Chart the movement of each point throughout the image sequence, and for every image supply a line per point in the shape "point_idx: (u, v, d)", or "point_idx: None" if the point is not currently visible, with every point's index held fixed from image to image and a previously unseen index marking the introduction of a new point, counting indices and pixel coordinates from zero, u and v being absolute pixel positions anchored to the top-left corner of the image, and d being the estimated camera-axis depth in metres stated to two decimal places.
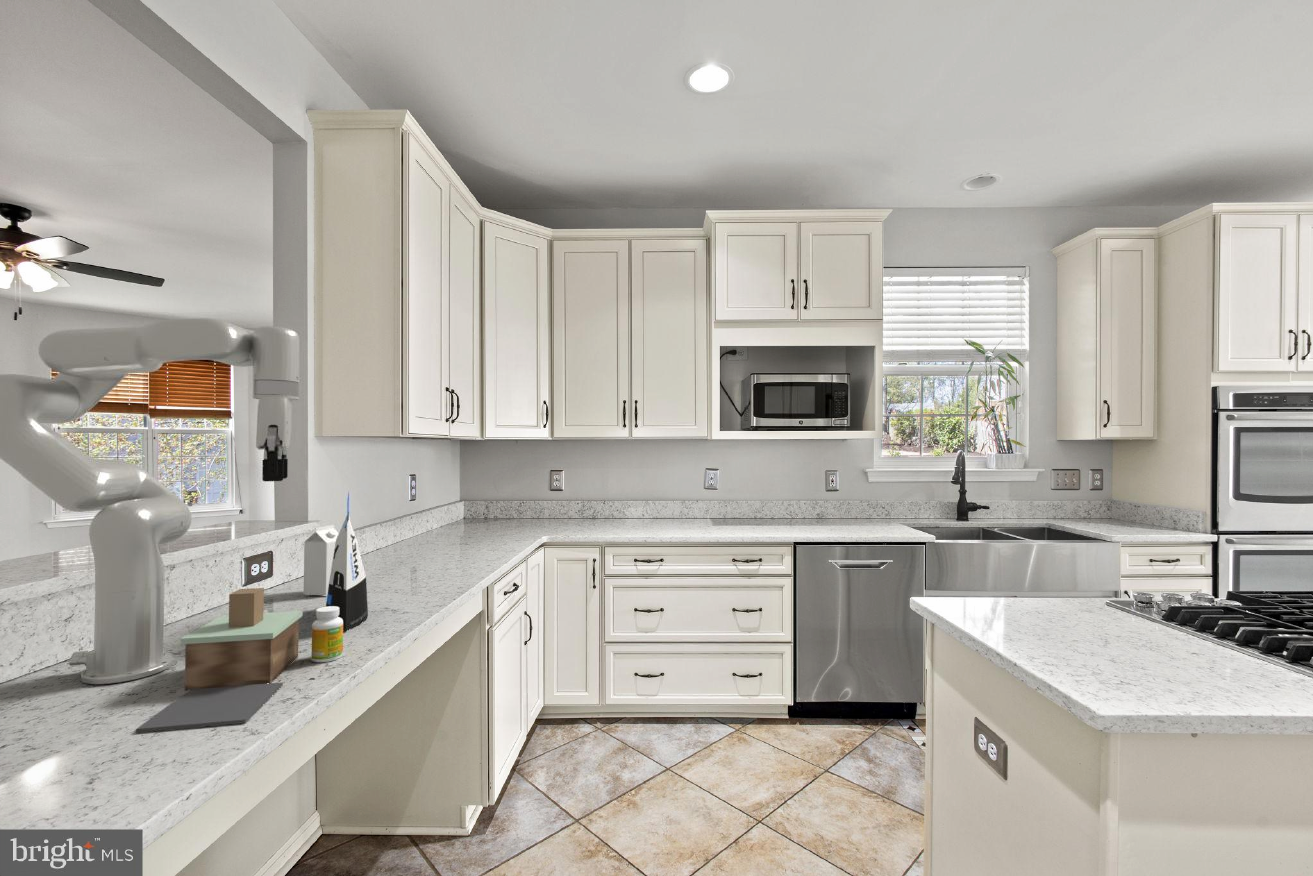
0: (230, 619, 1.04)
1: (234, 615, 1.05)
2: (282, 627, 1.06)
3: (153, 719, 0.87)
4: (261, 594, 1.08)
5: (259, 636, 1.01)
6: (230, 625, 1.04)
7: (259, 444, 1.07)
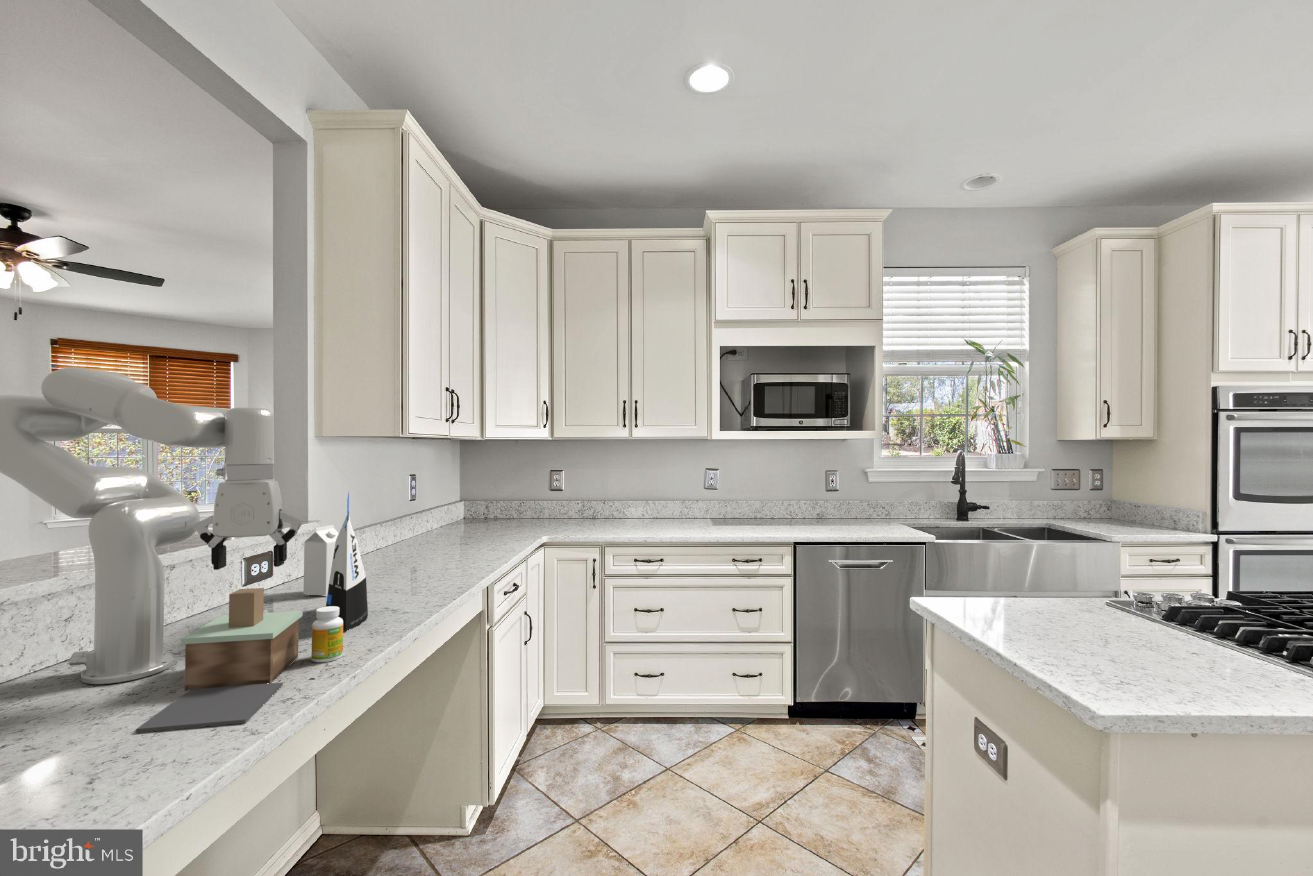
0: (230, 619, 1.04)
1: (234, 615, 1.05)
2: (282, 627, 1.06)
3: (153, 719, 0.87)
4: (261, 594, 1.08)
5: (259, 636, 1.01)
6: (230, 625, 1.04)
7: (274, 530, 1.06)
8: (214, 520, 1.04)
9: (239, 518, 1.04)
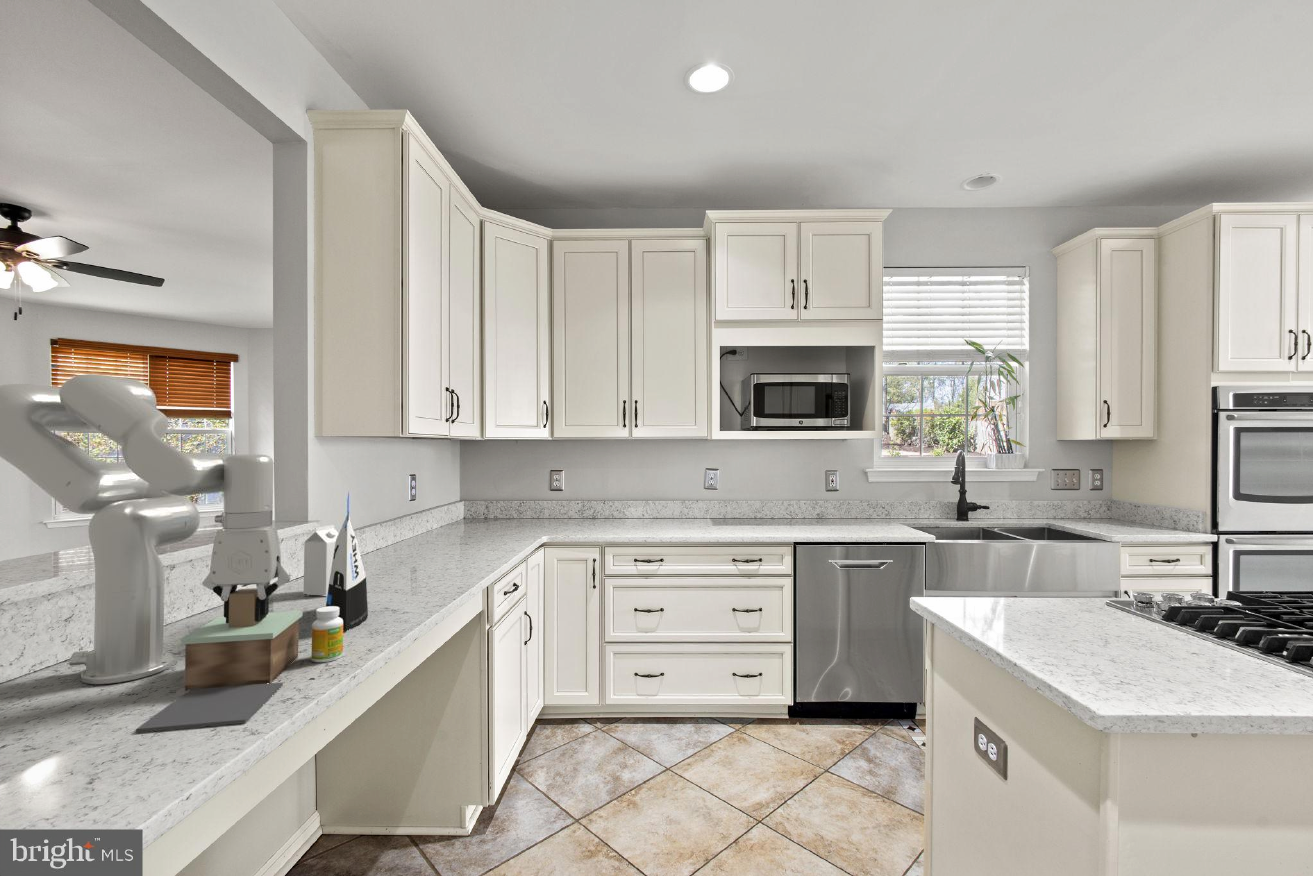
0: (230, 619, 1.04)
1: (234, 615, 1.05)
2: (282, 627, 1.06)
3: (153, 719, 0.87)
4: None
5: (259, 636, 1.01)
6: (230, 625, 1.04)
7: (272, 578, 1.06)
8: (211, 568, 1.03)
9: (237, 566, 1.04)
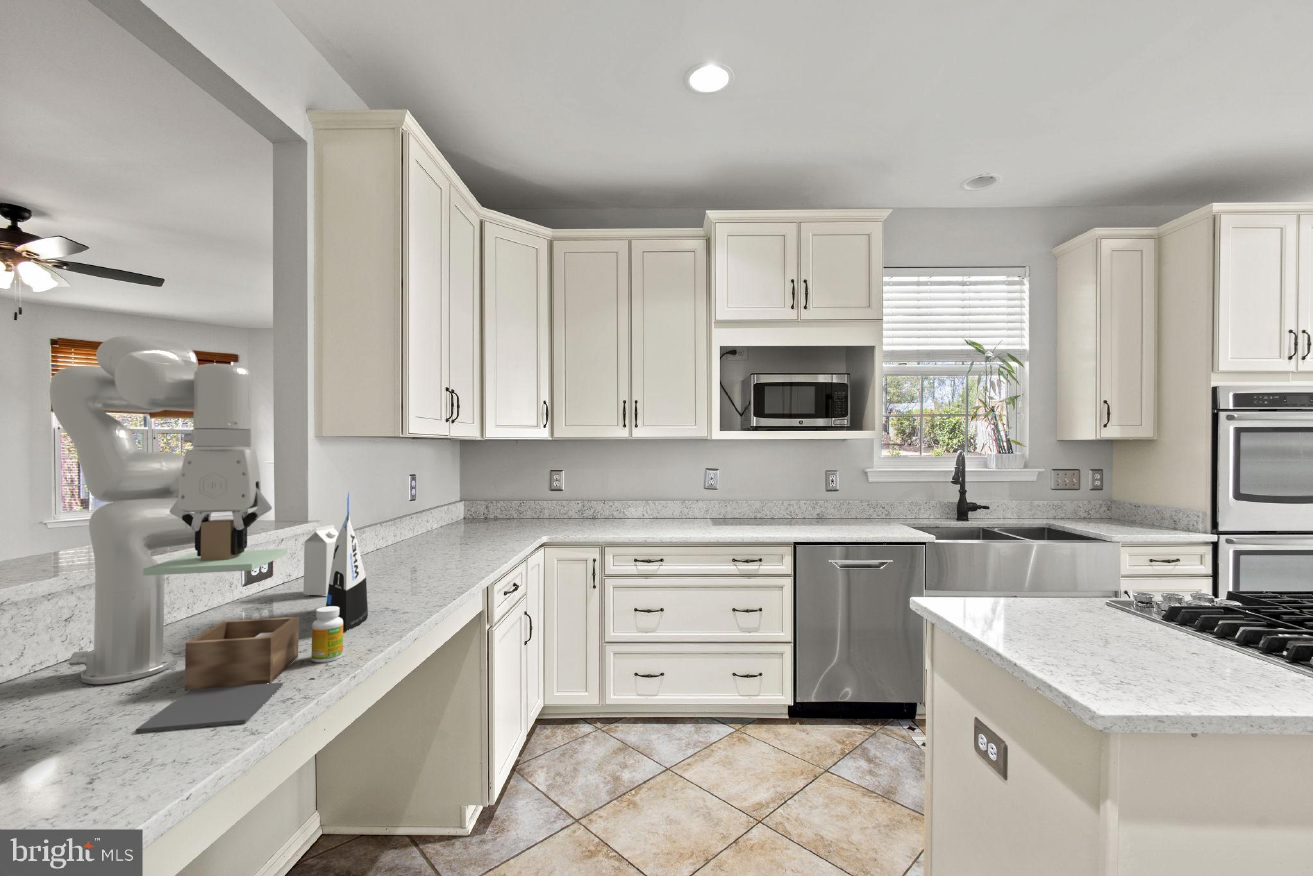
0: (202, 551, 0.91)
1: (207, 546, 0.91)
2: (263, 560, 0.92)
3: (153, 719, 0.87)
4: None
5: (235, 567, 0.88)
6: (202, 558, 0.91)
7: (250, 504, 0.93)
8: (180, 492, 0.90)
9: (209, 490, 0.91)
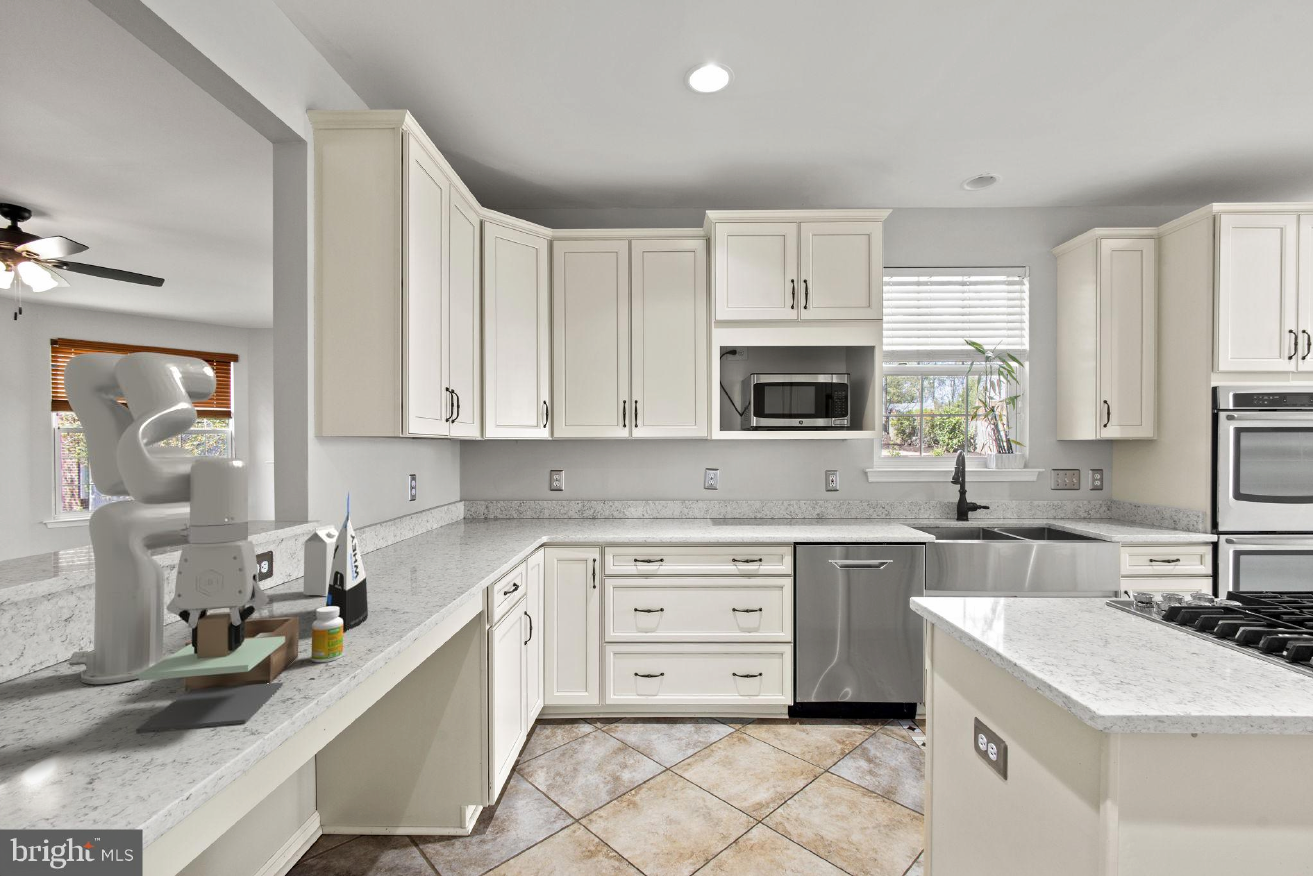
0: (199, 649, 0.90)
1: (204, 644, 0.90)
2: (260, 657, 0.91)
3: (153, 719, 0.87)
4: None
5: (232, 669, 0.87)
6: (199, 656, 0.90)
7: (247, 600, 0.92)
8: (176, 590, 0.89)
9: (206, 587, 0.90)
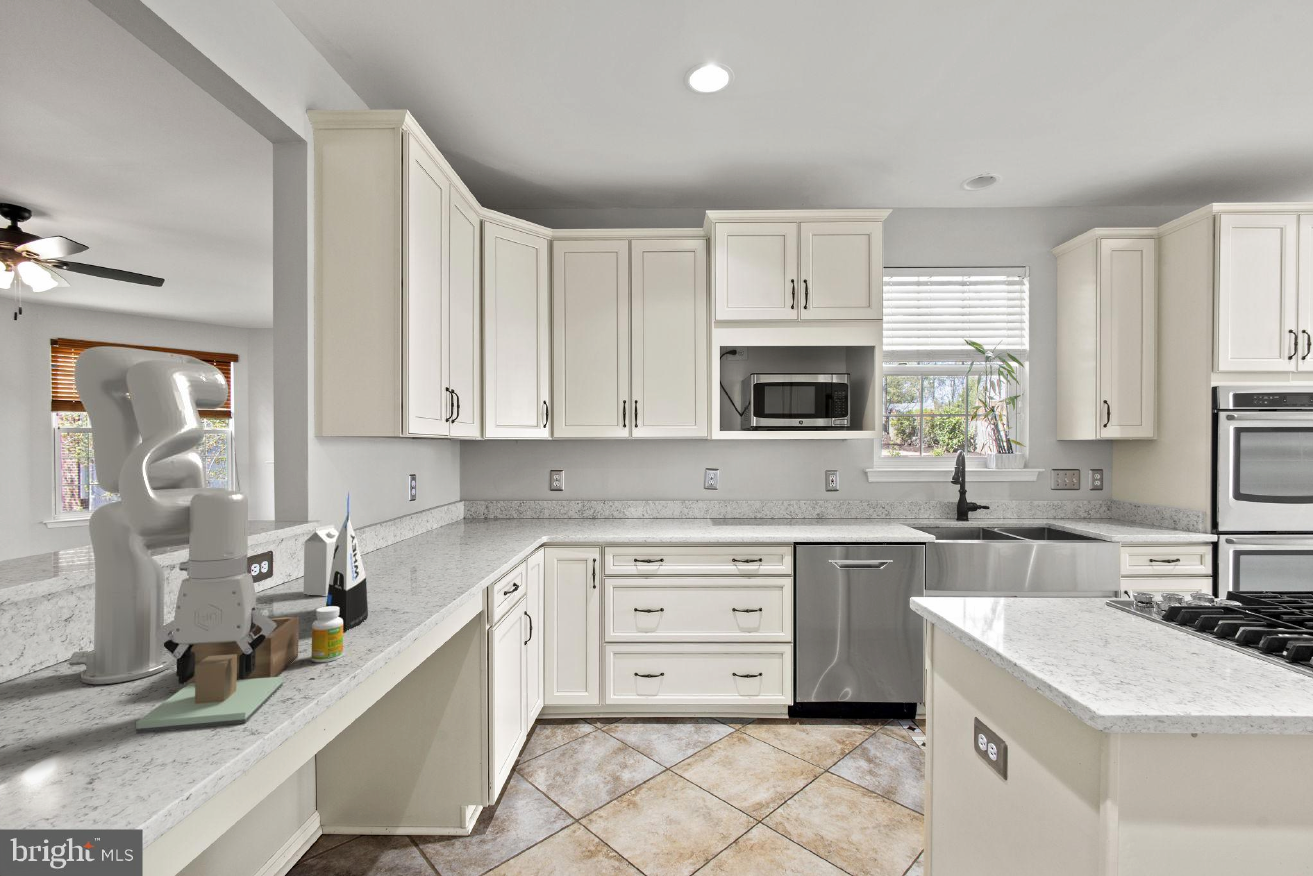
0: (196, 694, 0.90)
1: (201, 689, 0.90)
2: (257, 702, 0.91)
3: None
4: (234, 662, 0.94)
5: (229, 716, 0.87)
6: (196, 701, 0.90)
7: (246, 634, 0.92)
8: (175, 625, 0.89)
9: (204, 622, 0.90)
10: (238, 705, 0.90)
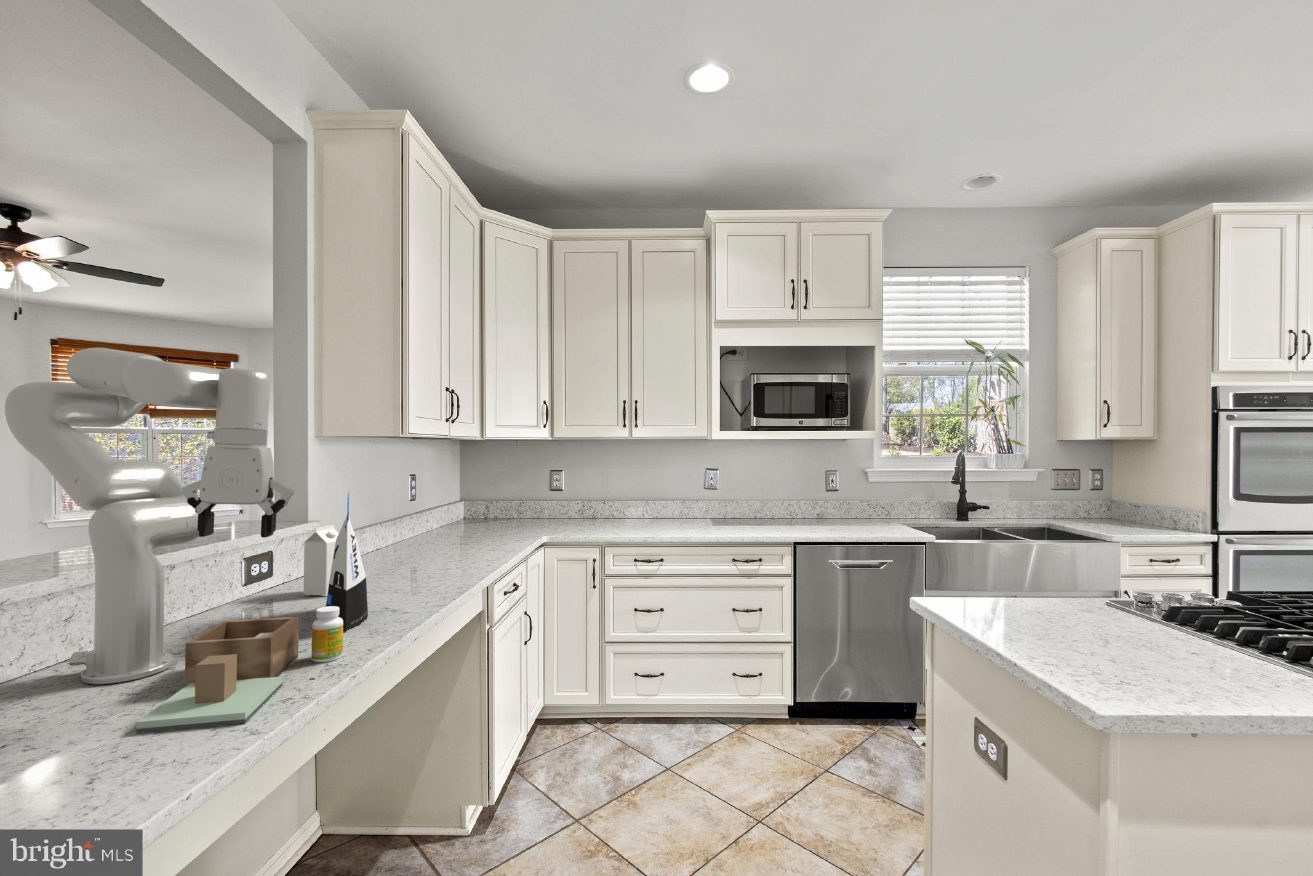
0: (196, 694, 0.90)
1: (201, 689, 0.90)
2: (257, 702, 0.91)
3: None
4: (234, 662, 0.94)
5: (229, 716, 0.87)
6: (196, 701, 0.90)
7: (263, 499, 1.01)
8: (201, 485, 0.99)
9: (227, 484, 0.99)
10: (238, 705, 0.90)
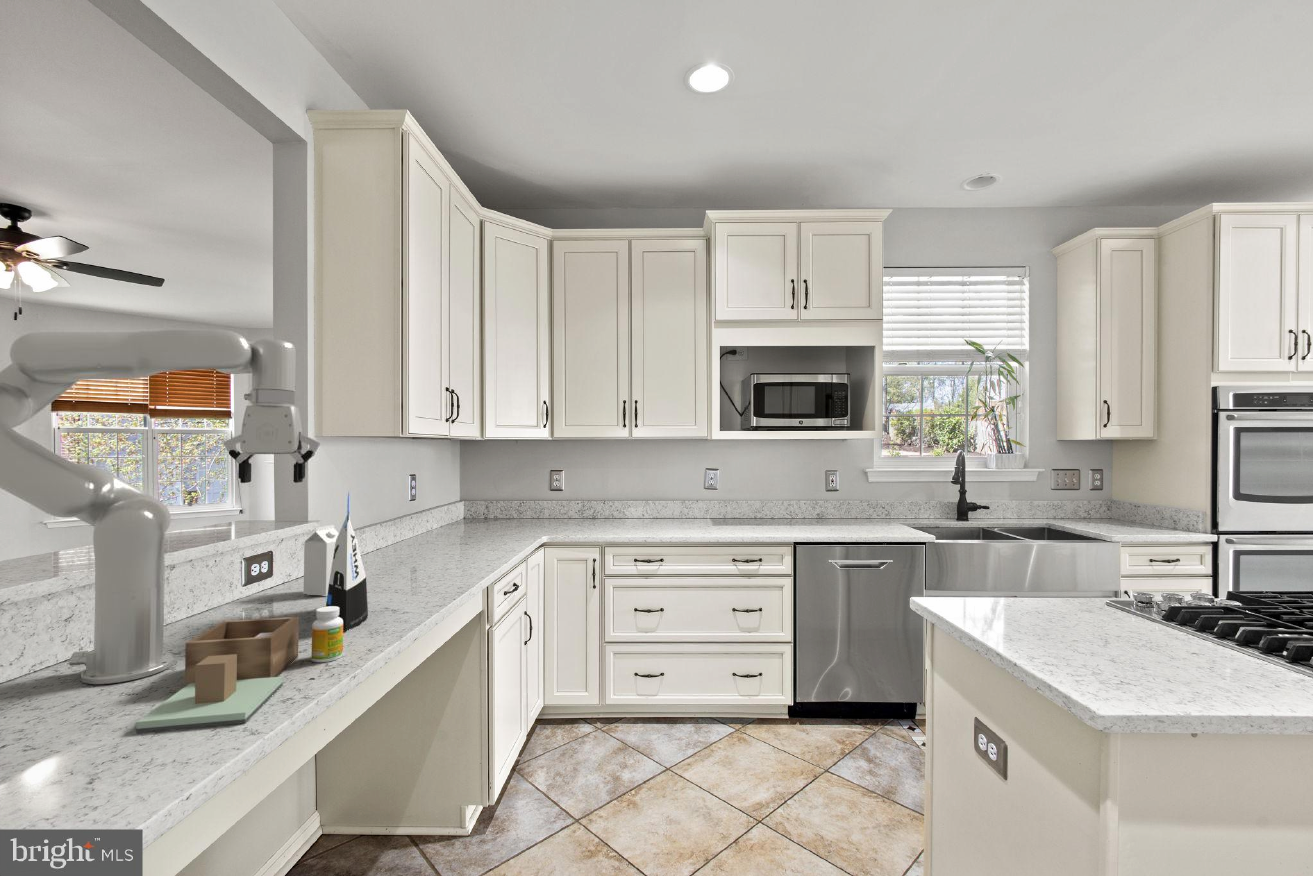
0: (196, 694, 0.90)
1: (201, 689, 0.90)
2: (257, 702, 0.91)
3: None
4: (234, 662, 0.94)
5: (229, 716, 0.87)
6: (196, 701, 0.90)
7: (295, 449, 1.19)
8: (242, 438, 1.16)
9: (264, 437, 1.17)
10: (238, 705, 0.90)
